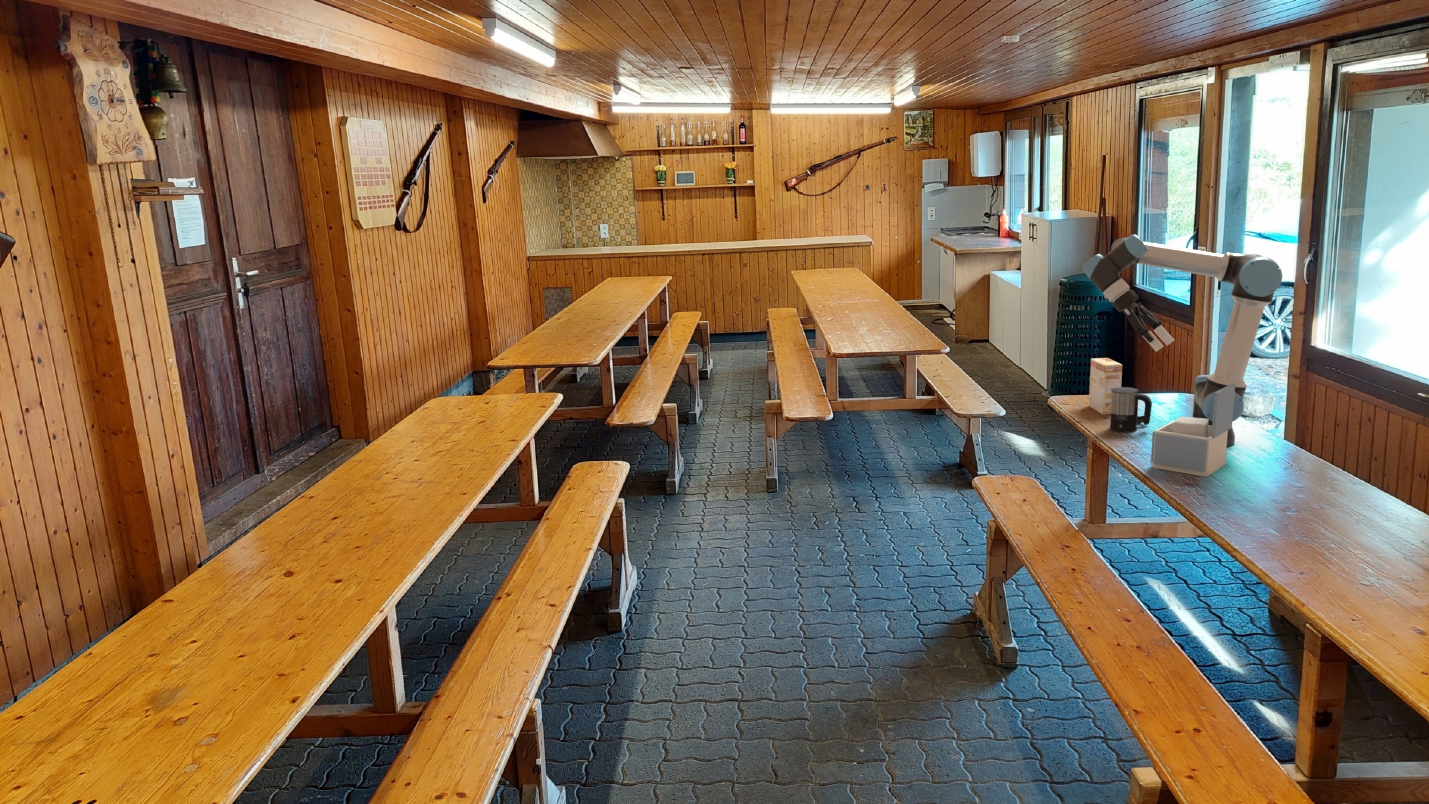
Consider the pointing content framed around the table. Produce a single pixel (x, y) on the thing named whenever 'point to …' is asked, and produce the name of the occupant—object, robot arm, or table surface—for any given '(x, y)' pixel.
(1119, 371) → the coffeecake box
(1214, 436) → the flap
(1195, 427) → the supplement box
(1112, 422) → the milk frother
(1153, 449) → the carton
